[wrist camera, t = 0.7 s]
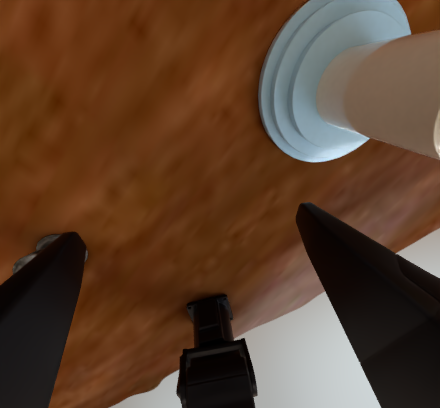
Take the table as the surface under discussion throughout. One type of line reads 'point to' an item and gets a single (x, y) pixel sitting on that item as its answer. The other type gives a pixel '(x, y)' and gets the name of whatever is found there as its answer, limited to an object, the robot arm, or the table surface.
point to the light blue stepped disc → (317, 71)
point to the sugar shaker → (387, 92)
